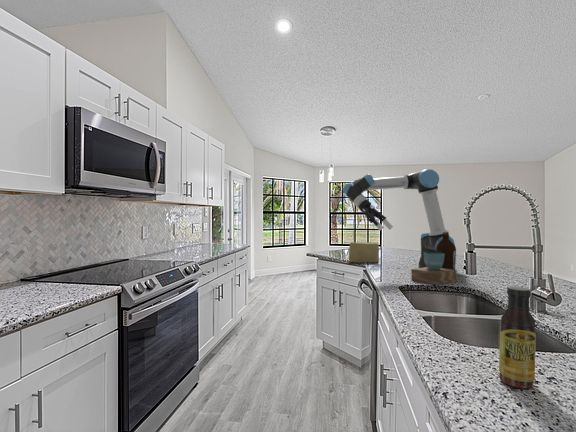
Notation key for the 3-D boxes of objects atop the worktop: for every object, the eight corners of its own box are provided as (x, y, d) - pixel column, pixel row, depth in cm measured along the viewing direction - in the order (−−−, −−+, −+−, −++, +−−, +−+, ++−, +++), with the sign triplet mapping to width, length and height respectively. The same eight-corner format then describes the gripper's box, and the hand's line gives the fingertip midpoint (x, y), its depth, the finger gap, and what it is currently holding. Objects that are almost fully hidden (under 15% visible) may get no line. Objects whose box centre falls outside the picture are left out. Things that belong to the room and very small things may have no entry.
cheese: (348, 262, 261) (348, 242, 261) (349, 261, 271) (349, 242, 271) (379, 263, 257) (378, 243, 257) (378, 261, 266) (378, 242, 266)
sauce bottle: (502, 387, 70) (501, 289, 70) (496, 374, 76) (494, 284, 76) (541, 393, 68) (539, 291, 68) (531, 379, 74) (530, 285, 74)
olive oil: (436, 276, 198) (435, 232, 198) (436, 273, 207) (435, 231, 207) (456, 277, 193) (456, 232, 193) (456, 274, 203) (455, 232, 203)
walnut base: (430, 277, 196) (430, 266, 196) (456, 281, 182) (456, 270, 182) (411, 280, 187) (411, 269, 187) (438, 285, 174) (437, 273, 174)
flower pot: (439, 268, 189) (439, 251, 189) (445, 270, 180) (445, 253, 180) (423, 268, 190) (422, 251, 190) (427, 270, 181) (427, 253, 181)
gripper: (367, 208, 221) (390, 232, 212) (348, 207, 201) (373, 234, 192) (375, 199, 218) (399, 223, 208) (357, 198, 198) (382, 224, 189)
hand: (386, 228), depth 200 cm, fingers open, 13 cm apart
